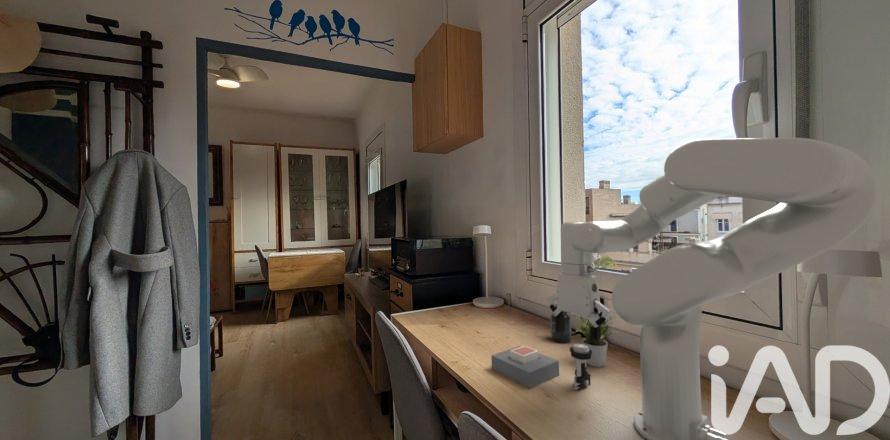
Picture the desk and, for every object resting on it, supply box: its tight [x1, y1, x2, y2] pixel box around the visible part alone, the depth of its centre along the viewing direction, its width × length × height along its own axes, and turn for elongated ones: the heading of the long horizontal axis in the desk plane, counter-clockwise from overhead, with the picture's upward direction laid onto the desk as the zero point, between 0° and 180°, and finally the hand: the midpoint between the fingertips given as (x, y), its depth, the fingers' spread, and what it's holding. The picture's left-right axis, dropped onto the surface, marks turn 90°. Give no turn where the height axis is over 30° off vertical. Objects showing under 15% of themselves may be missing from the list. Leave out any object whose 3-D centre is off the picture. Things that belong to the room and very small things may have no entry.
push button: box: [569, 343, 592, 390], centre depth 81 cm, size 7×5×10 cm
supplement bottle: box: [550, 312, 572, 344], centre depth 114 cm, size 7×7×12 cm
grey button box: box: [491, 345, 560, 389], centre depth 89 cm, size 14×12×4 cm
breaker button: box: [510, 345, 539, 365], centre depth 90 cm, size 5×6×4 cm
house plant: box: [574, 311, 619, 368], centre depth 94 cm, size 14×14×16 cm
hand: (577, 336), depth 82 cm, fingers open, 9 cm apart
